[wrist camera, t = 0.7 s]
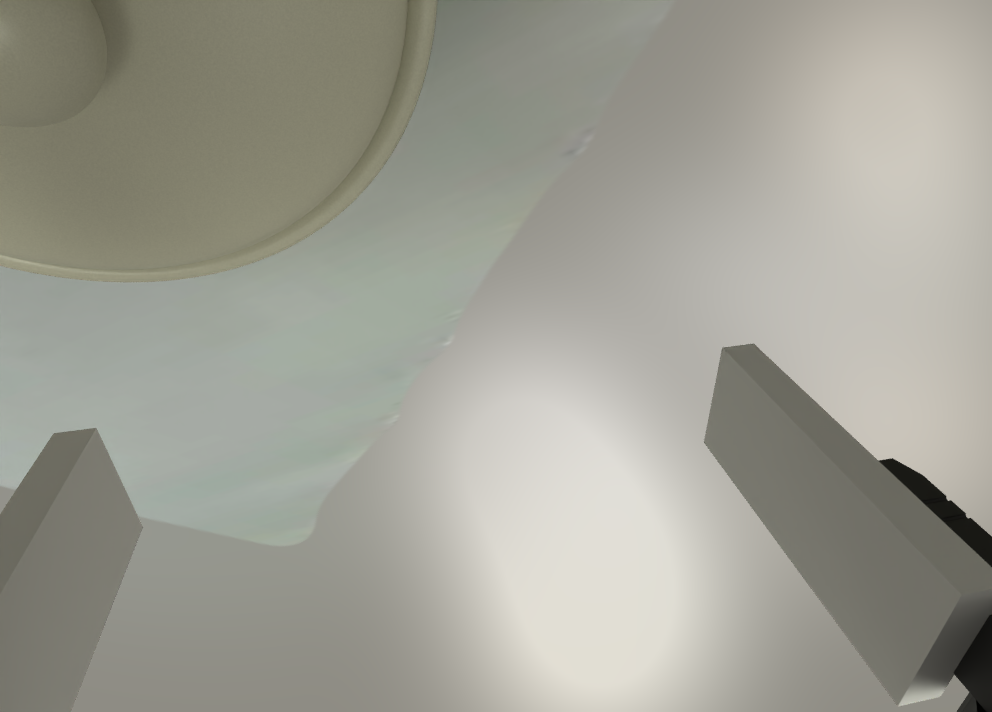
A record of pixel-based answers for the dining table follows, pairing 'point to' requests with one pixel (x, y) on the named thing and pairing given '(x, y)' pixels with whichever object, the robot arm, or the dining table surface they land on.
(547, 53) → the dining table surface
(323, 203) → the canister
